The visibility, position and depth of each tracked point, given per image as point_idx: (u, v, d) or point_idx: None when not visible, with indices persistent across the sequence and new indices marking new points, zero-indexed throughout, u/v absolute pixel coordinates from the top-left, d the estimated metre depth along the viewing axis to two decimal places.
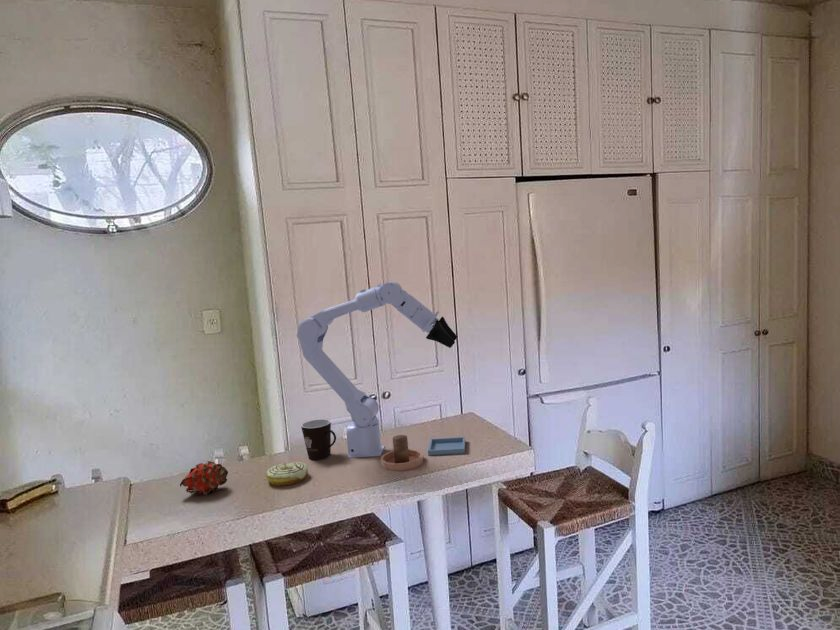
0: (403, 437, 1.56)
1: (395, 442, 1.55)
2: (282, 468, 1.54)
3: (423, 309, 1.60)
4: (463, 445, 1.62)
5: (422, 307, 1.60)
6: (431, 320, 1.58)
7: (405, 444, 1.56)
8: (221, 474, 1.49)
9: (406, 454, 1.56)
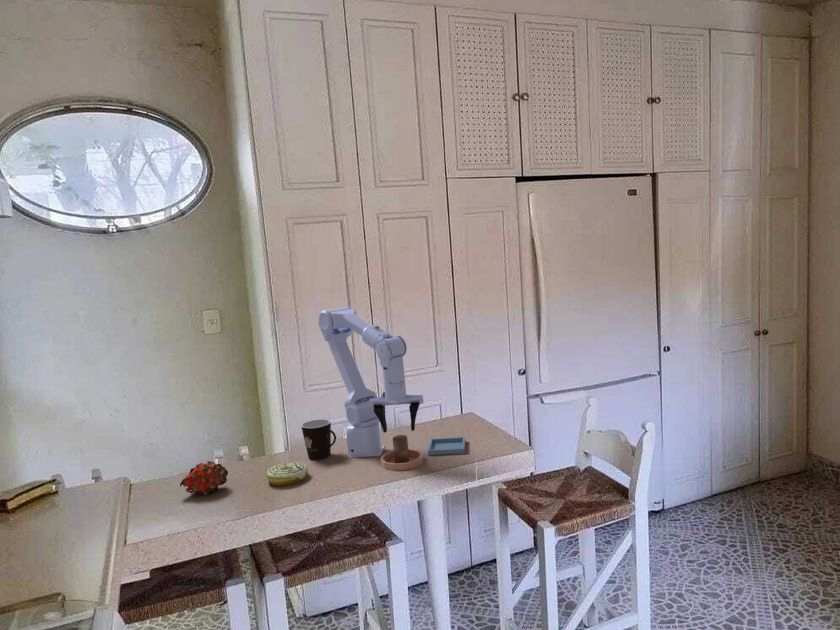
0: (403, 437, 1.56)
1: (395, 442, 1.55)
2: (282, 468, 1.54)
3: (387, 388, 1.53)
4: (463, 445, 1.62)
5: (388, 386, 1.53)
6: (380, 401, 1.54)
7: (405, 444, 1.56)
8: (221, 474, 1.49)
9: (406, 454, 1.56)
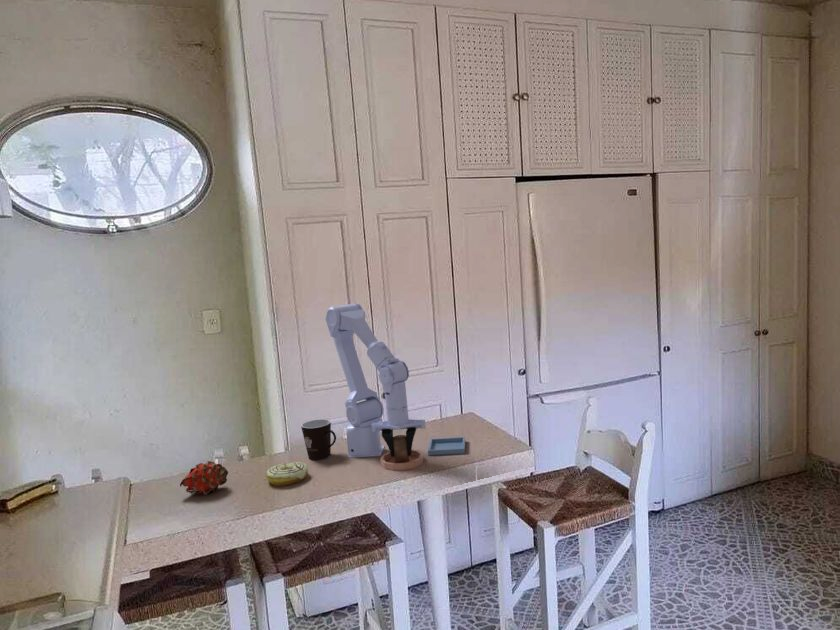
0: (403, 437, 1.56)
1: (395, 442, 1.55)
2: (282, 468, 1.54)
3: (389, 413, 1.54)
4: (463, 445, 1.62)
5: (390, 411, 1.54)
6: (382, 426, 1.55)
7: (405, 444, 1.56)
8: (221, 474, 1.49)
9: (406, 454, 1.56)
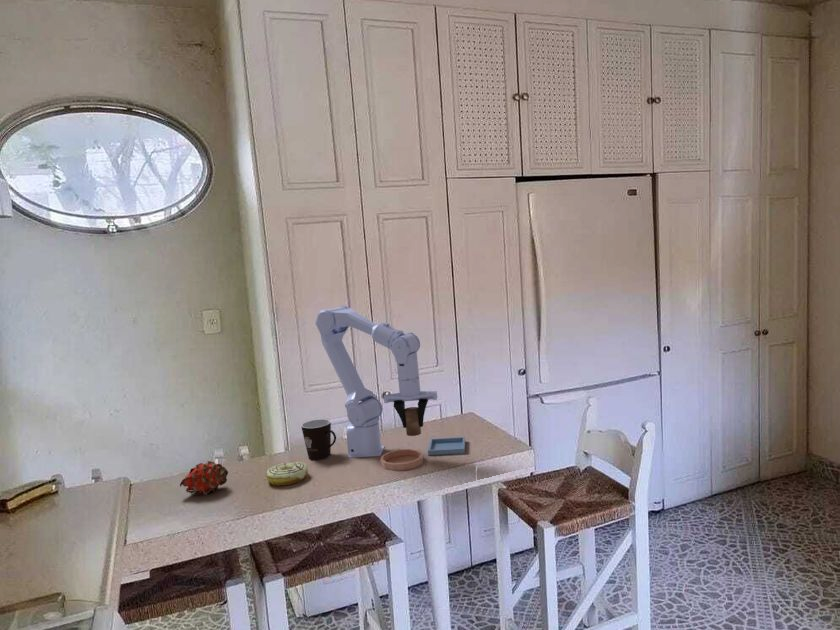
0: (415, 409, 1.58)
1: (406, 414, 1.57)
2: (282, 468, 1.54)
3: (401, 384, 1.56)
4: (463, 445, 1.62)
5: (402, 382, 1.55)
6: (394, 397, 1.57)
7: (417, 415, 1.57)
8: (221, 474, 1.49)
9: (418, 425, 1.57)
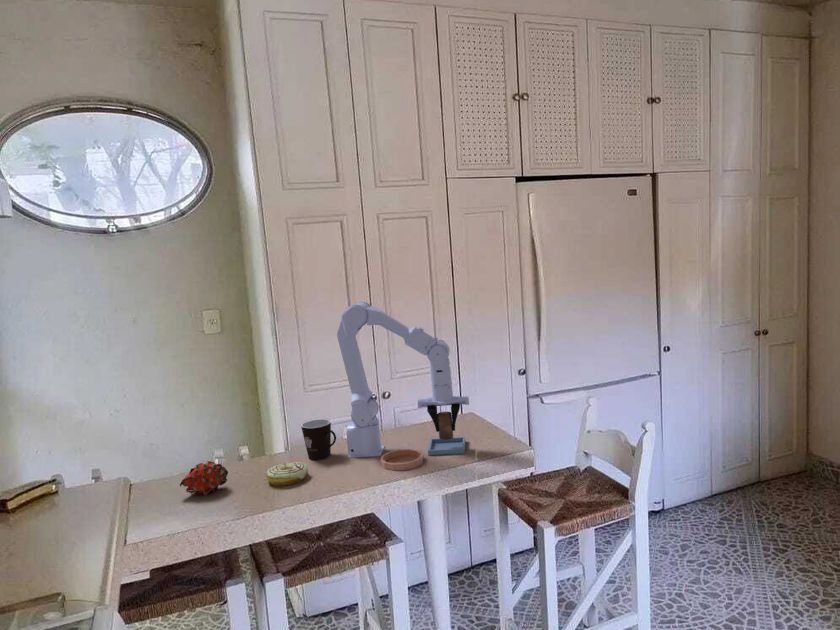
0: (447, 413, 1.63)
1: (439, 418, 1.63)
2: (282, 468, 1.54)
3: (435, 390, 1.61)
4: (463, 445, 1.62)
5: (436, 388, 1.61)
6: (428, 402, 1.63)
7: (449, 419, 1.63)
8: (221, 474, 1.49)
9: (450, 430, 1.63)
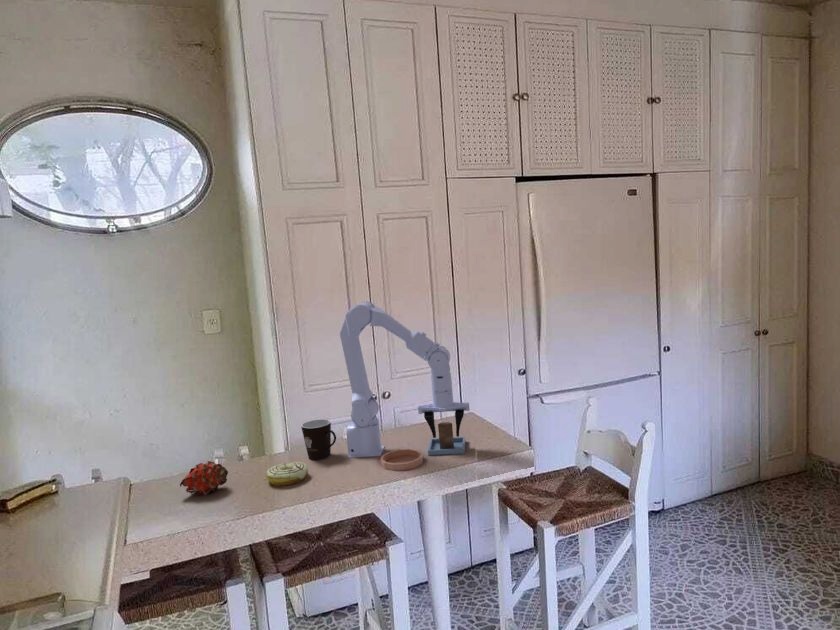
0: (448, 424, 1.64)
1: (440, 429, 1.63)
2: (282, 468, 1.54)
3: (436, 396, 1.62)
4: (463, 445, 1.62)
5: (437, 394, 1.61)
6: (428, 408, 1.63)
7: (450, 430, 1.63)
8: (221, 474, 1.49)
9: (451, 440, 1.63)
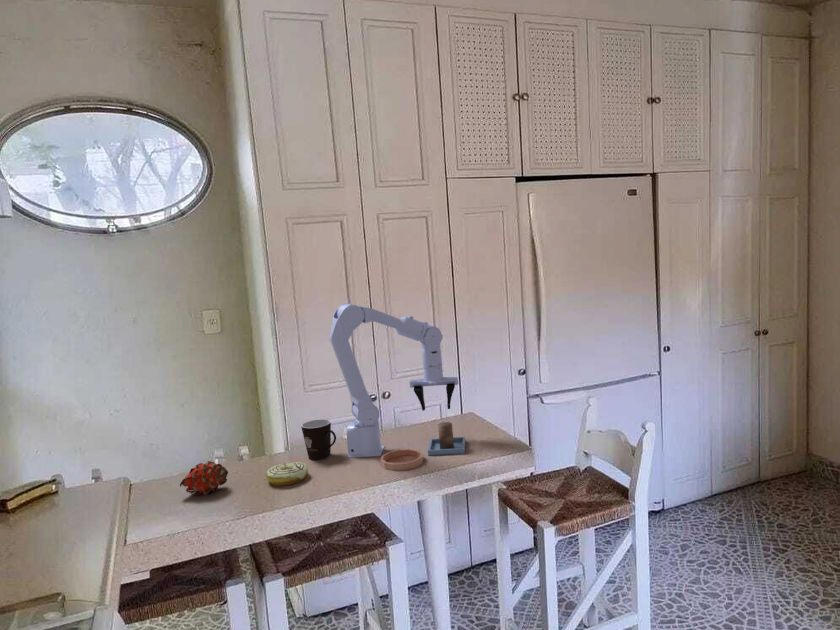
0: (448, 424, 1.64)
1: (440, 429, 1.63)
2: (282, 468, 1.54)
3: (426, 370, 1.71)
4: (463, 445, 1.62)
5: (427, 368, 1.71)
6: (419, 382, 1.72)
7: (450, 430, 1.63)
8: (221, 474, 1.49)
9: (451, 440, 1.63)
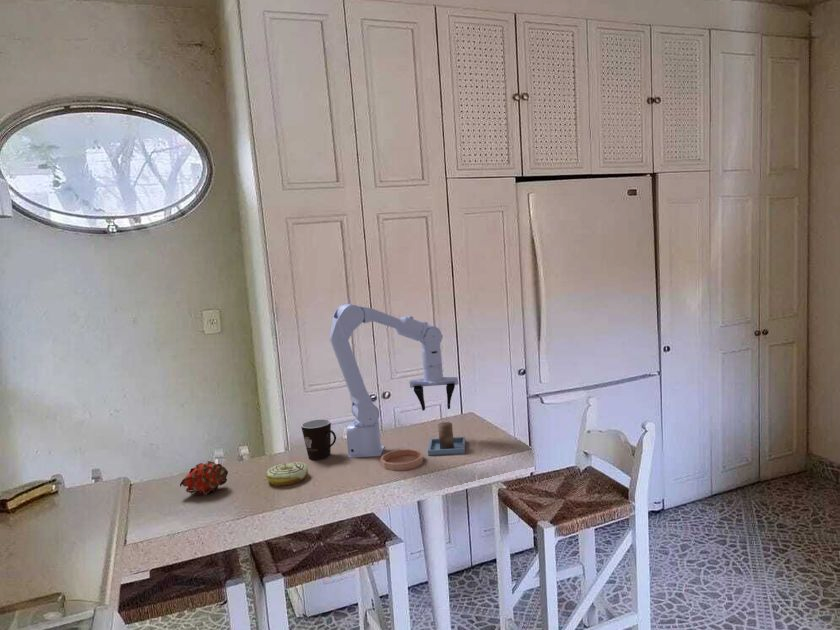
0: (448, 424, 1.64)
1: (440, 429, 1.63)
2: (282, 468, 1.54)
3: (426, 370, 1.71)
4: (463, 445, 1.62)
5: (427, 368, 1.71)
6: (419, 382, 1.72)
7: (450, 430, 1.63)
8: (221, 474, 1.49)
9: (451, 440, 1.63)
